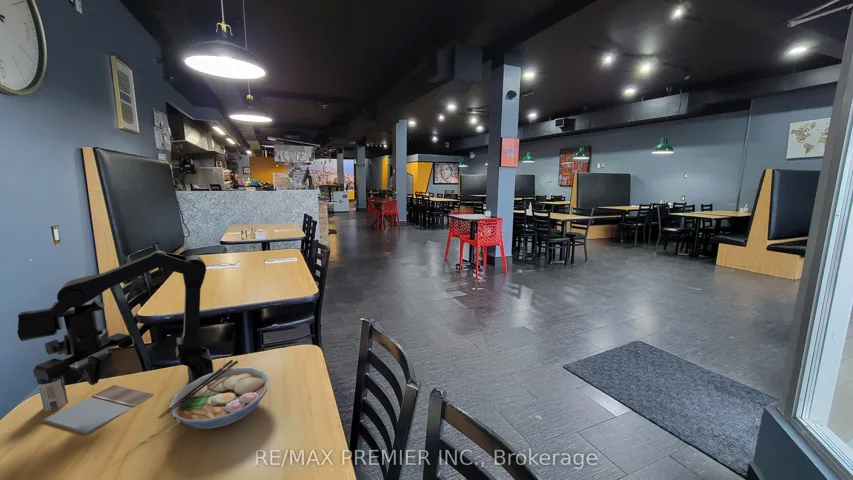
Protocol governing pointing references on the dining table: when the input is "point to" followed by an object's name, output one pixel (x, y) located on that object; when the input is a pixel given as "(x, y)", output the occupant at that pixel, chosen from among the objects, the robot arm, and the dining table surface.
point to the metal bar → (123, 395)
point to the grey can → (52, 393)
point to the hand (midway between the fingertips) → (93, 383)
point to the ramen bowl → (220, 397)
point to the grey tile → (86, 415)
